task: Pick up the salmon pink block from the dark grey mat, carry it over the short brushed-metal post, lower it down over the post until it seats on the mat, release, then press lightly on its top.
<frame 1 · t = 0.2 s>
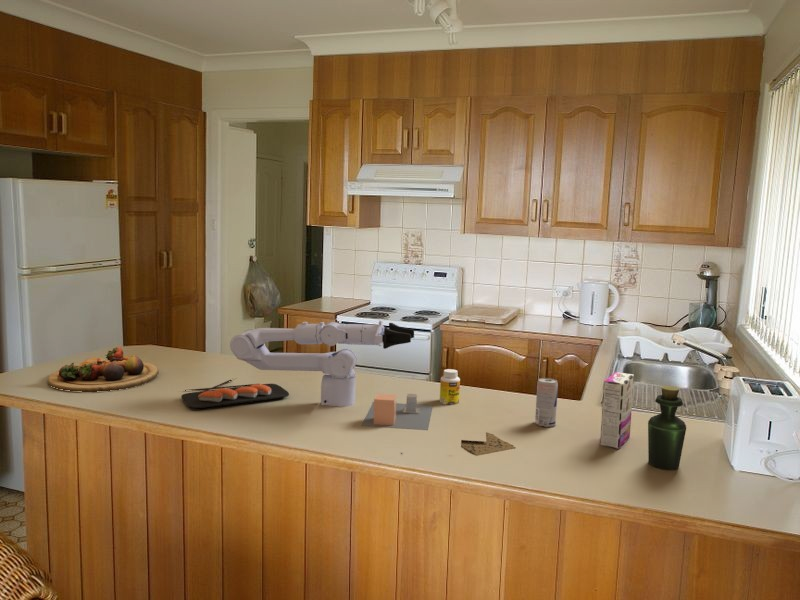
hand: (412, 336, 182), 21 cm above the worktop, tool horizontal, fingers open, 7 cm apart
post: (411, 411, 182), resting on mat
energy drink: (545, 424, 177), on the worktop
potion bottle: (663, 465, 151), on the worktop
sushi plate: (228, 394, 199), on the worktop
mat: (398, 418, 178), on the worktop
salmon pink block: (384, 421, 173), point 1 cm above the worktop, touching mat
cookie: (481, 446, 161), on the worktop
candy bar box: (614, 441, 166), on the worktop
supplement bottle: (449, 405, 192), on the worktop
wooden plate with food: (104, 380, 210), on the worktop
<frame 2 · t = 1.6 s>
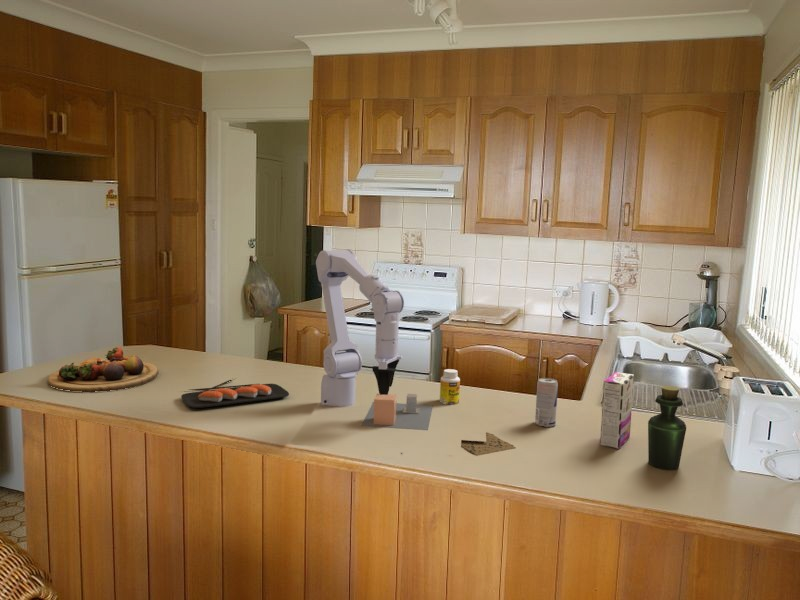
hand: (385, 390, 172), 9 cm above the worktop, tool pointing down, fingers open, 7 cm apart
nothing on the worktop moved.
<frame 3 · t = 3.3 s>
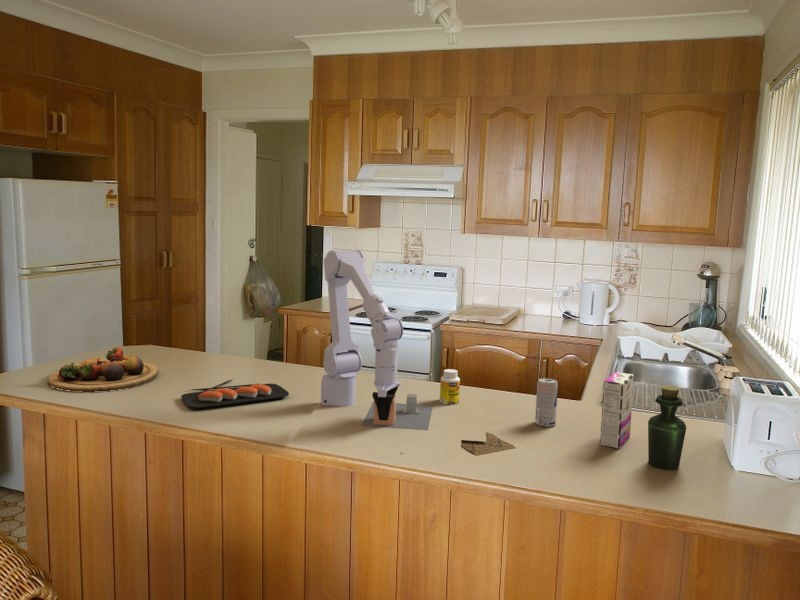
hand: (384, 416, 172), 2 cm above the worktop, tool pointing down, fingers closed on salmon pink block, 5 cm apart
salmon pink block: (384, 421, 173), point 1 cm above the worktop, touching gripper, mat
everything else where it was.
when the fingers open (3 cm above the worktop, at t = 7.1 s): salmon pink block stays where it is, resting on post.
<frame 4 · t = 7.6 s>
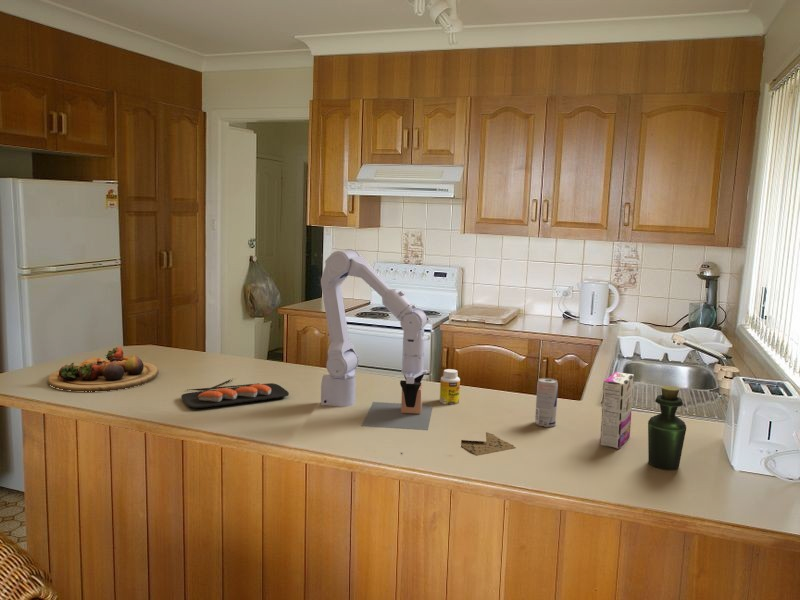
hand: (411, 402, 182), 3 cm above the worktop, tool pointing down, fingers open, 7 cm apart
salmon pink block: (411, 410, 182), point 1 cm above the worktop, touching post
everything else where it was.
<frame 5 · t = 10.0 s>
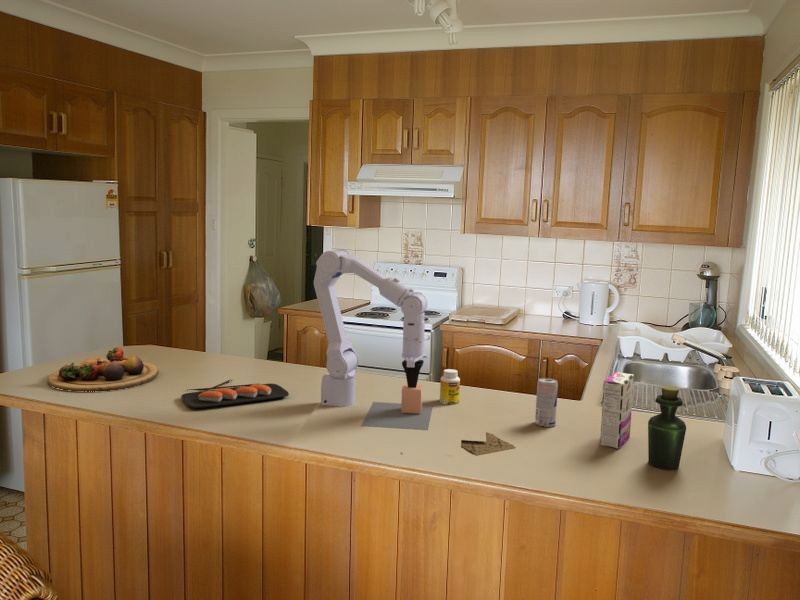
hand: (412, 387, 181), 8 cm above the worktop, tool pointing down, fingers closed, pressing on salmon pink block
salmon pink block: (411, 410, 182), point 1 cm above the worktop, touching gripper, post
everything else where it was.
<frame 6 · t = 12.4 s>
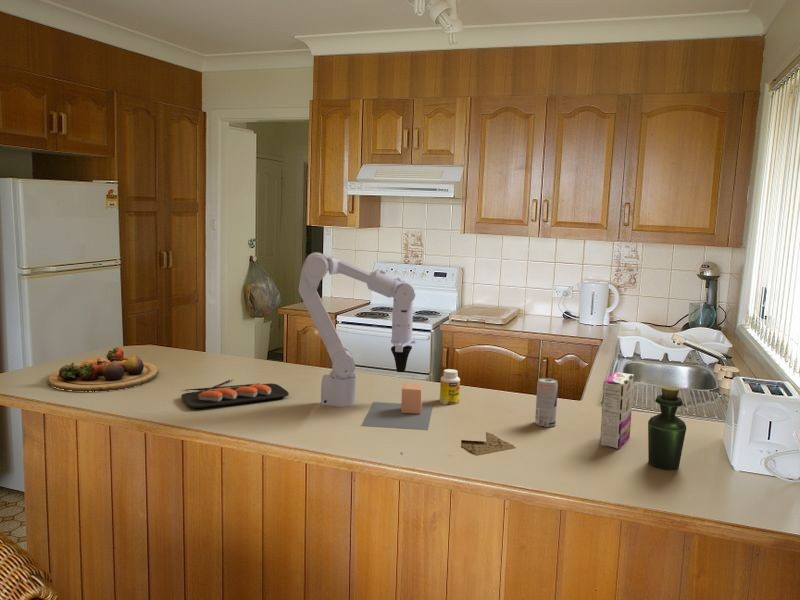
hand: (400, 371, 189), 10 cm above the worktop, tool pointing down, fingers closed
salmon pink block: (411, 410, 182), point 1 cm above the worktop, touching post
everything else where it was.
at the end: salmon pink block 0.1 cm from the post (horizontally); salmon pink block point 1.3 cm above the worktop; the gripper is holding nothing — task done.
